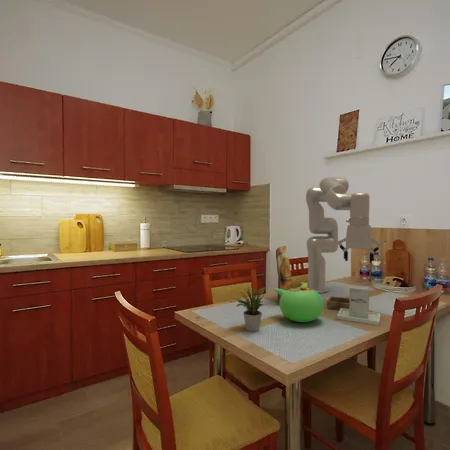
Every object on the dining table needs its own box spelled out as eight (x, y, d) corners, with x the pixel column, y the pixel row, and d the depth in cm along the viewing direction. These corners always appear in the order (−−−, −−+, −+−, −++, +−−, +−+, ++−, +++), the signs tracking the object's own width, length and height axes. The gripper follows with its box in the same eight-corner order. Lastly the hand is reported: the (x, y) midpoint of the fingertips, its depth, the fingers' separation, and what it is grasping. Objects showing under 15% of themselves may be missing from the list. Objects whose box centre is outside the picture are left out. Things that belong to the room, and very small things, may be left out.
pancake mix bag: (270, 305, 147) (271, 247, 147) (284, 296, 164) (285, 244, 163) (284, 307, 144) (284, 248, 143) (297, 298, 160) (297, 245, 159)
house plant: (249, 318, 127) (249, 280, 127) (278, 326, 119) (278, 285, 118) (227, 328, 116) (227, 286, 116) (258, 337, 108) (258, 292, 107)
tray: (336, 318, 127) (336, 315, 127) (340, 311, 138) (340, 307, 138) (379, 325, 120) (379, 321, 120) (380, 316, 130) (380, 313, 130)
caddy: (327, 308, 142) (327, 301, 142) (330, 303, 151) (331, 296, 151) (351, 312, 137) (351, 304, 137) (353, 306, 146) (353, 298, 146)
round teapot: (290, 329, 115) (290, 291, 115) (272, 315, 131) (272, 282, 131) (331, 325, 120) (332, 288, 120) (308, 312, 136) (309, 279, 136)
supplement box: (348, 317, 127) (349, 287, 127) (350, 312, 134) (351, 283, 133) (368, 320, 124) (368, 289, 123) (369, 315, 130) (369, 285, 130)
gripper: (336, 221, 131) (335, 261, 132) (381, 222, 122) (380, 264, 123) (339, 221, 137) (338, 258, 138) (382, 222, 129) (381, 262, 130)
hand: (358, 261), depth 131 cm, fingers open, 9 cm apart
